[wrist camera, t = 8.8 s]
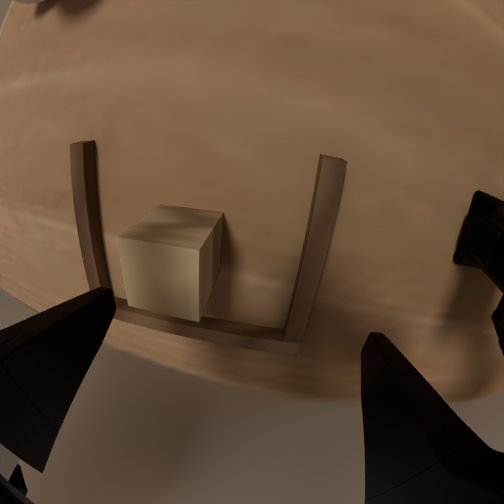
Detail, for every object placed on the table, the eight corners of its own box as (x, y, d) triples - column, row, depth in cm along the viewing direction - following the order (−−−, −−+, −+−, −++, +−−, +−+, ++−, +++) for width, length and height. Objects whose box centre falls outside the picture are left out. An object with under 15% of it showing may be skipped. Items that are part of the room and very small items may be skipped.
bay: (342, 158, 16) (346, 161, 15) (297, 343, 24) (297, 354, 23) (81, 141, 17) (69, 144, 16) (103, 304, 25) (96, 312, 24)
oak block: (223, 212, 19) (199, 250, 14) (219, 272, 21) (199, 322, 16) (159, 204, 19) (117, 237, 14) (161, 262, 22) (128, 305, 16)
